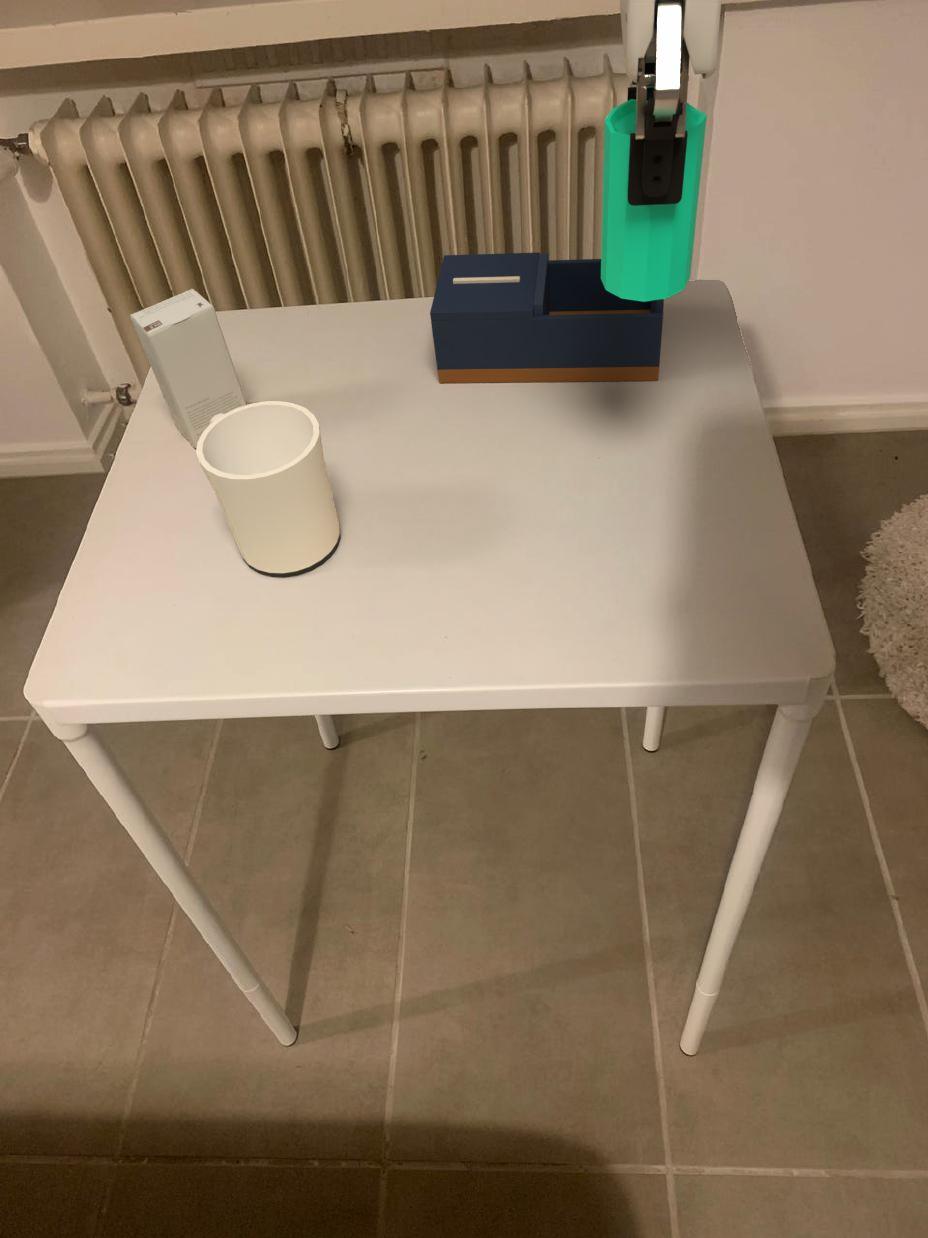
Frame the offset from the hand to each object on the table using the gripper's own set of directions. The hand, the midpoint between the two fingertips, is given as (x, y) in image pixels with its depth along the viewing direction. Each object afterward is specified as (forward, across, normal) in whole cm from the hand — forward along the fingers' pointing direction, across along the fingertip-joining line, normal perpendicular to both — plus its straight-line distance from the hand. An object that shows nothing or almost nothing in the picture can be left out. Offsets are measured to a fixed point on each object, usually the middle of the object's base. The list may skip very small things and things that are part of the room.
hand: (652, 174), depth 58 cm
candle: (+7, 0, 0) cm, 7 cm away
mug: (+24, -8, +28) cm, 38 cm away
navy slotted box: (+24, +17, +7) cm, 30 cm away
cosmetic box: (+24, +6, +38) cm, 45 cm away
